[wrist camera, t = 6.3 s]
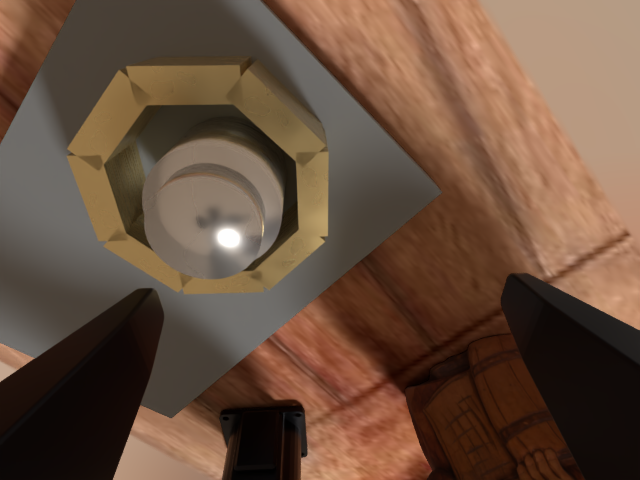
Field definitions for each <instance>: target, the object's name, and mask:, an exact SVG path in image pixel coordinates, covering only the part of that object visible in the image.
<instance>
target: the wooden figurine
mask: <svg viewBox="0 0 640 480" xmlns="http://www.w3.org/2000/svg"><path fill="white" fill-rule="evenodd" d="M405 396H406V401H407V405H408V408H409V412H410V415H411V418H412V422H413V425H414V428H415V431H416V434H417V437H418V440H419V443H420V446H421V448H422V451H423V453H424V455H425V457H426V459H427V461H428V463H429V465H430V467H431V469H432V472H431V473H430V475H429V477H428V478H427V480H585V479H584V477H583V475H582V473H581V471H580V469H579V468H578V466H577V464H576V462H575V460H574V458H573V456H572V454H571V452H570V450H569V448H568V446H567V445H566V443H565V441H564V439H563V437H562V435H561V433H560V431H559V429H558V427H557V425H556V423H555V422H554V420H553V418H552V416H551V414H550V412H549V410H548V408H547V406H546V404H545V402H544V400H543V399H542V397H541V395H540V393H539V391H538V389H537V387H536V385H535V383H534V381H533V379H532V377H531V376H530V374H529V372H528V370H527V368H526V366H525V364H524V362H523V360H522V357H521V355H520V353H519V350H518V348H517V345H516V343H515V340H514V338H513V335H512V334H505V335H497V336H493V337H487V338H482V339H479V340H477V341H475V342H472V343H471V344H469V346H468V350H467V351H466V352H464V353H462V354H459V355H456V356H452V357H450V358H448V359H447V360H446V361H445V362H443V363H440V364H437V365H435V366H434V367H433V368H431V370H430V379H429V380H428V381H426V382H424V383H422V384H420V385H415V386H409V387H407V388H406V389H405Z"/></svg>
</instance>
